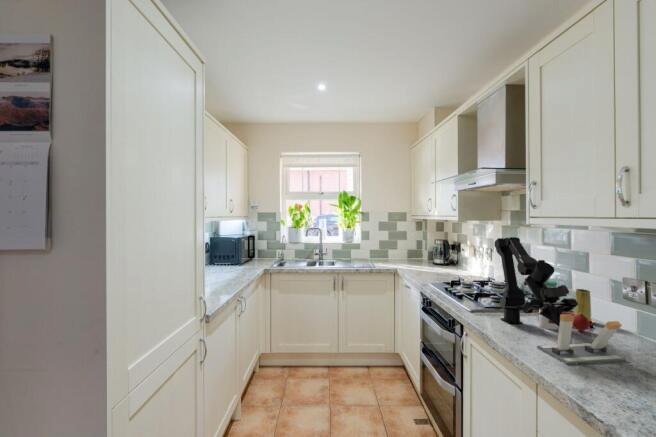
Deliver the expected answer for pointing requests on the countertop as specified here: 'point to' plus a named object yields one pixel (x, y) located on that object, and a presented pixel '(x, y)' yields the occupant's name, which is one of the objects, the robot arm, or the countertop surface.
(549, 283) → the milk bottle
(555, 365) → the countertop surface
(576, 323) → the onion
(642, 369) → the countertop surface
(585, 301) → the vase
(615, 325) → the on lever
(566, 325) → the lever
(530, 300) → the robot arm
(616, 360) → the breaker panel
